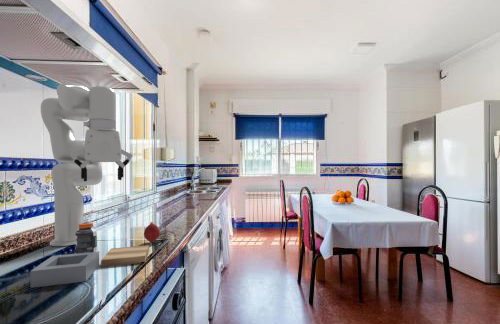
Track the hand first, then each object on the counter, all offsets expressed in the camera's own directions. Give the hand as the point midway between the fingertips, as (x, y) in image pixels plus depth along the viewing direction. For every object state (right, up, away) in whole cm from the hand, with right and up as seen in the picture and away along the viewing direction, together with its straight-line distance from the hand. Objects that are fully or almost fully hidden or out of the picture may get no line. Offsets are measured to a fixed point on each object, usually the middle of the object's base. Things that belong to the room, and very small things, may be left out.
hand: (103, 180), depth 85 cm
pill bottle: (-6, -25, +2) cm, 26 cm away
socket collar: (-2, -25, -13) cm, 28 cm away
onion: (+9, -25, +18) cm, 32 cm away
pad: (+8, -25, 0) cm, 26 cm away
